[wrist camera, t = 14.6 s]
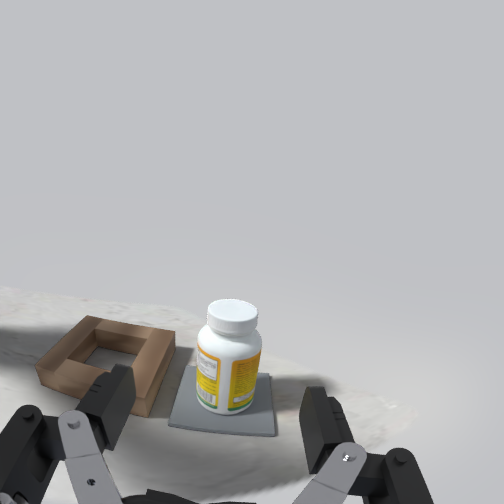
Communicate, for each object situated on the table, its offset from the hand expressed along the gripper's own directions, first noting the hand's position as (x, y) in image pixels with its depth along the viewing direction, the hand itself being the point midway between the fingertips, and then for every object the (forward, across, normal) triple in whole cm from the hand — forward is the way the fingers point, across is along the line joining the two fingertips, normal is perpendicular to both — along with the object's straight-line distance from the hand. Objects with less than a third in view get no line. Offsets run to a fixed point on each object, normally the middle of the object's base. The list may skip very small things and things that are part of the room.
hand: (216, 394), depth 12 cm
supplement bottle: (+11, 0, +10) cm, 15 cm away
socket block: (+13, +12, +11) cm, 21 cm away
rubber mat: (+11, 0, +11) cm, 15 cm away
